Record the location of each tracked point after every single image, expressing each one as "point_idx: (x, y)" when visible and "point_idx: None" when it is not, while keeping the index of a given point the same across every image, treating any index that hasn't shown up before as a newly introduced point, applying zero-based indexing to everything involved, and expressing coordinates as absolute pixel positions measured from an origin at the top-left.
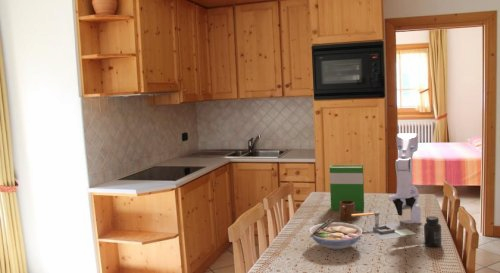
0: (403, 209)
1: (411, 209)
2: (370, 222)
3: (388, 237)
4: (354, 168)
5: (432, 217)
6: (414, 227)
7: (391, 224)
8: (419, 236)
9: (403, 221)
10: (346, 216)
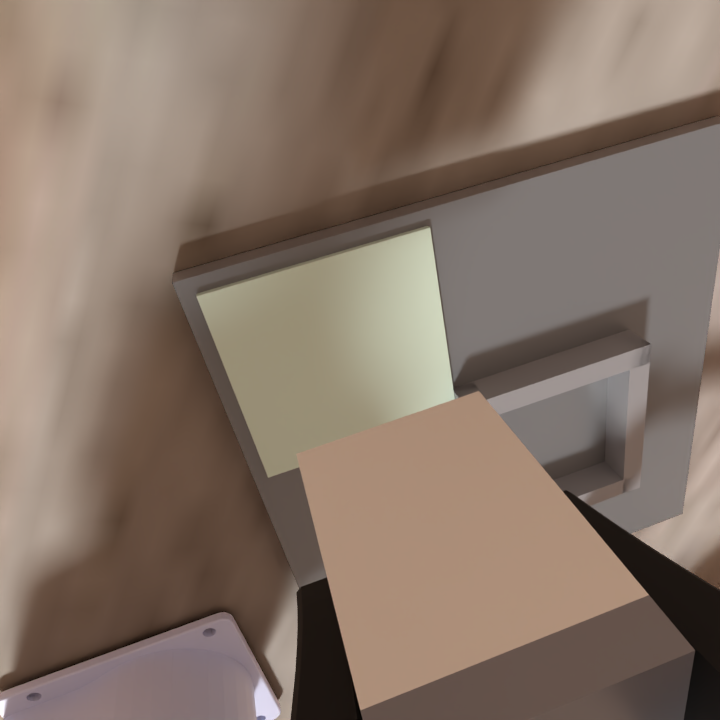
0: (632, 603)
1: (303, 701)
2: None
3: (618, 195)
4: None
5: None
6: (127, 569)
7: None
8: (147, 247)
9: (231, 675)
10: None
